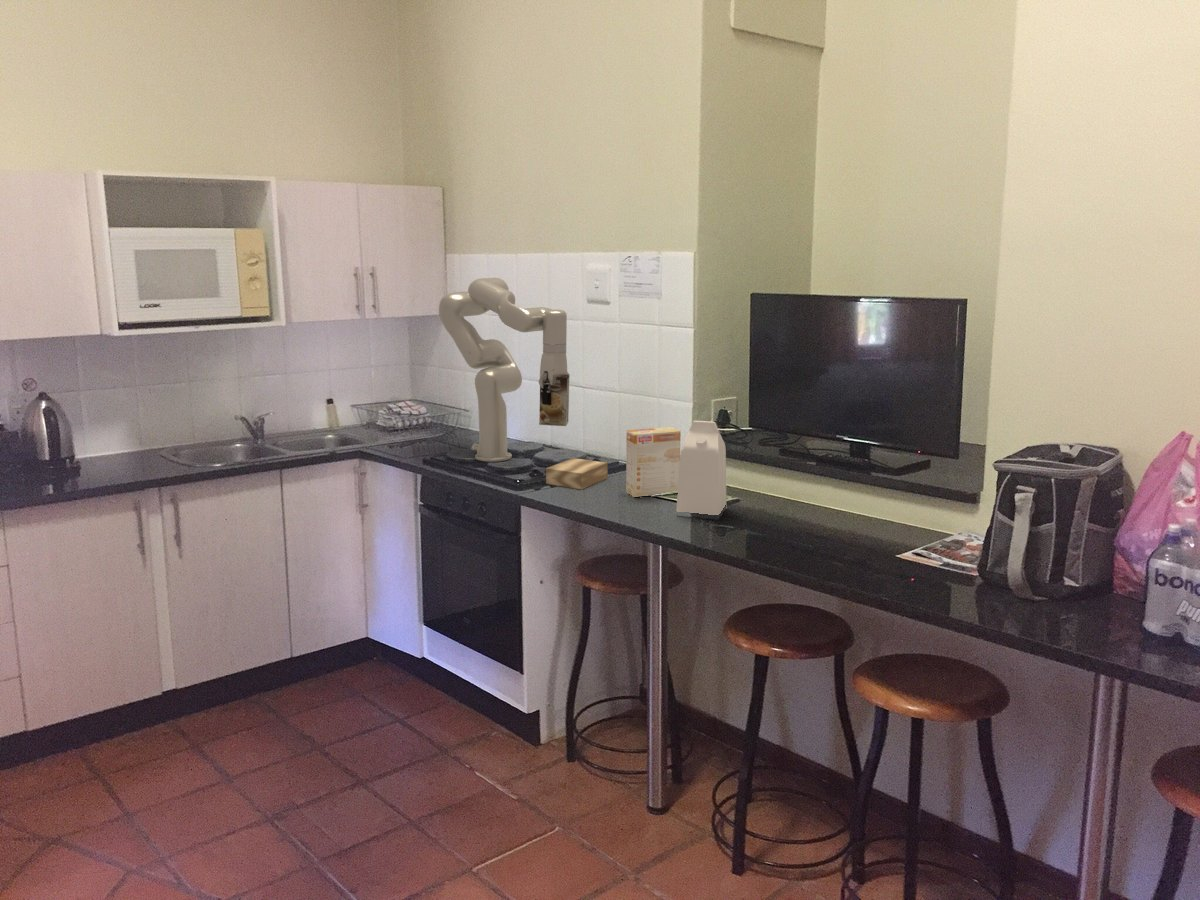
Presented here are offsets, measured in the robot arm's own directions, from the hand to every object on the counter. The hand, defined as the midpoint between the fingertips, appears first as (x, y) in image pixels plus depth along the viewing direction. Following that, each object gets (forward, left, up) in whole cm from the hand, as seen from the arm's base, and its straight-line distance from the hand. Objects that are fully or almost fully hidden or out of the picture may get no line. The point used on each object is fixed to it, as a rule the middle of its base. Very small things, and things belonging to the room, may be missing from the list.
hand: (554, 402), depth 313 cm
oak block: (+13, -8, -23) cm, 28 cm away
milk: (+61, -20, -23) cm, 69 cm away
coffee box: (0, 0, -7) cm, 7 cm away
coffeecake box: (+41, -9, -23) cm, 48 cm away
